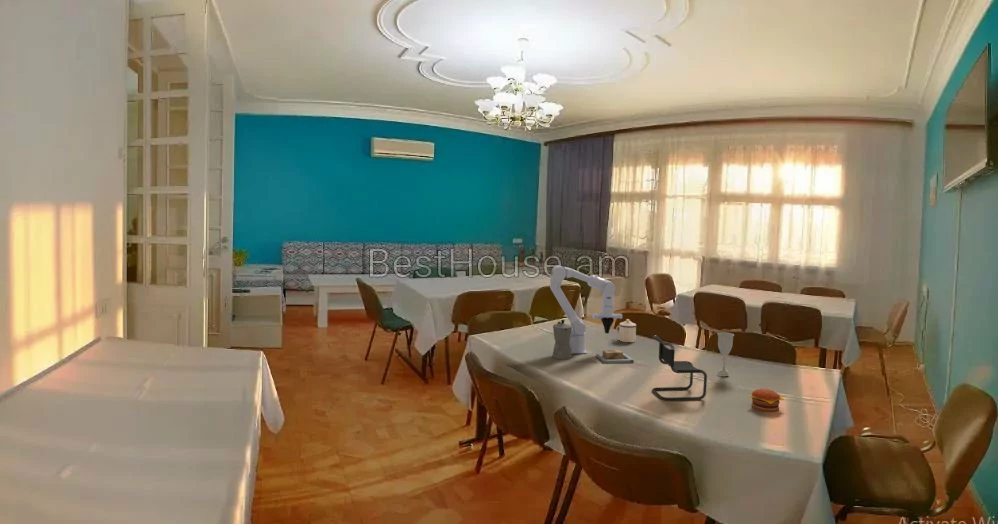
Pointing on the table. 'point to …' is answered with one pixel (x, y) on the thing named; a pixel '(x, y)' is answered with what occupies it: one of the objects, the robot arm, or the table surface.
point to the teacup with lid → (627, 331)
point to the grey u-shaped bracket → (626, 360)
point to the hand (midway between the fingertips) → (606, 332)
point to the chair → (677, 370)
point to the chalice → (724, 349)
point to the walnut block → (612, 354)
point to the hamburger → (765, 400)
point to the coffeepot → (562, 340)
